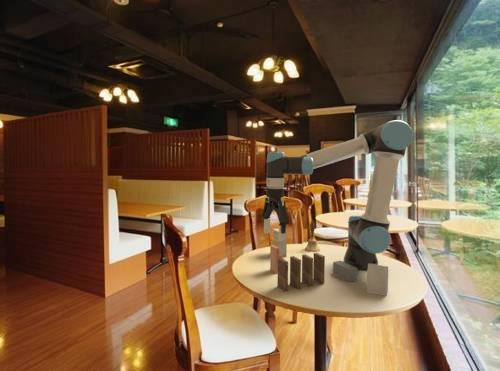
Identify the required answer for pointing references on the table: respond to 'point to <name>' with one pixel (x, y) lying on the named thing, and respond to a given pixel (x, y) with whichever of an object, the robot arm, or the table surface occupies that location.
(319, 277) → the walnut tile
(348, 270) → the block
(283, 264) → the walnut tile
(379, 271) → the beige boxy piece
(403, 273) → the table surface
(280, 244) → the supplement box
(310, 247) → the hand bell
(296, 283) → the walnut tile
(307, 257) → the walnut tile
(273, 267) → the terracotta tile
